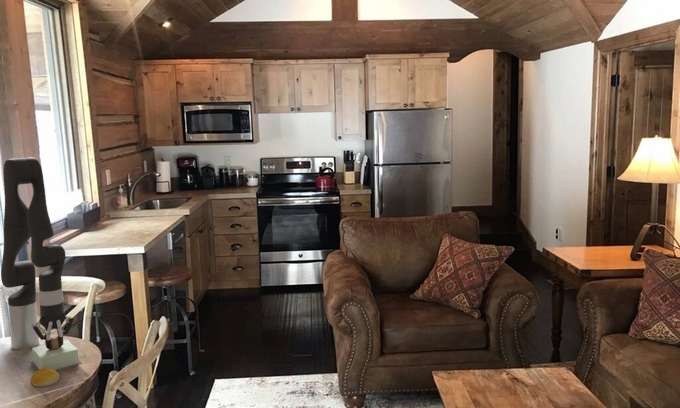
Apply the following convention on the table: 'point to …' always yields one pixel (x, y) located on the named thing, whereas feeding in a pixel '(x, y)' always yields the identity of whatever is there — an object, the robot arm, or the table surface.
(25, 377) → the table surface
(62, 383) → the table surface
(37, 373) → the bread roll
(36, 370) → the mat
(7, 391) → the table surface
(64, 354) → the cover
